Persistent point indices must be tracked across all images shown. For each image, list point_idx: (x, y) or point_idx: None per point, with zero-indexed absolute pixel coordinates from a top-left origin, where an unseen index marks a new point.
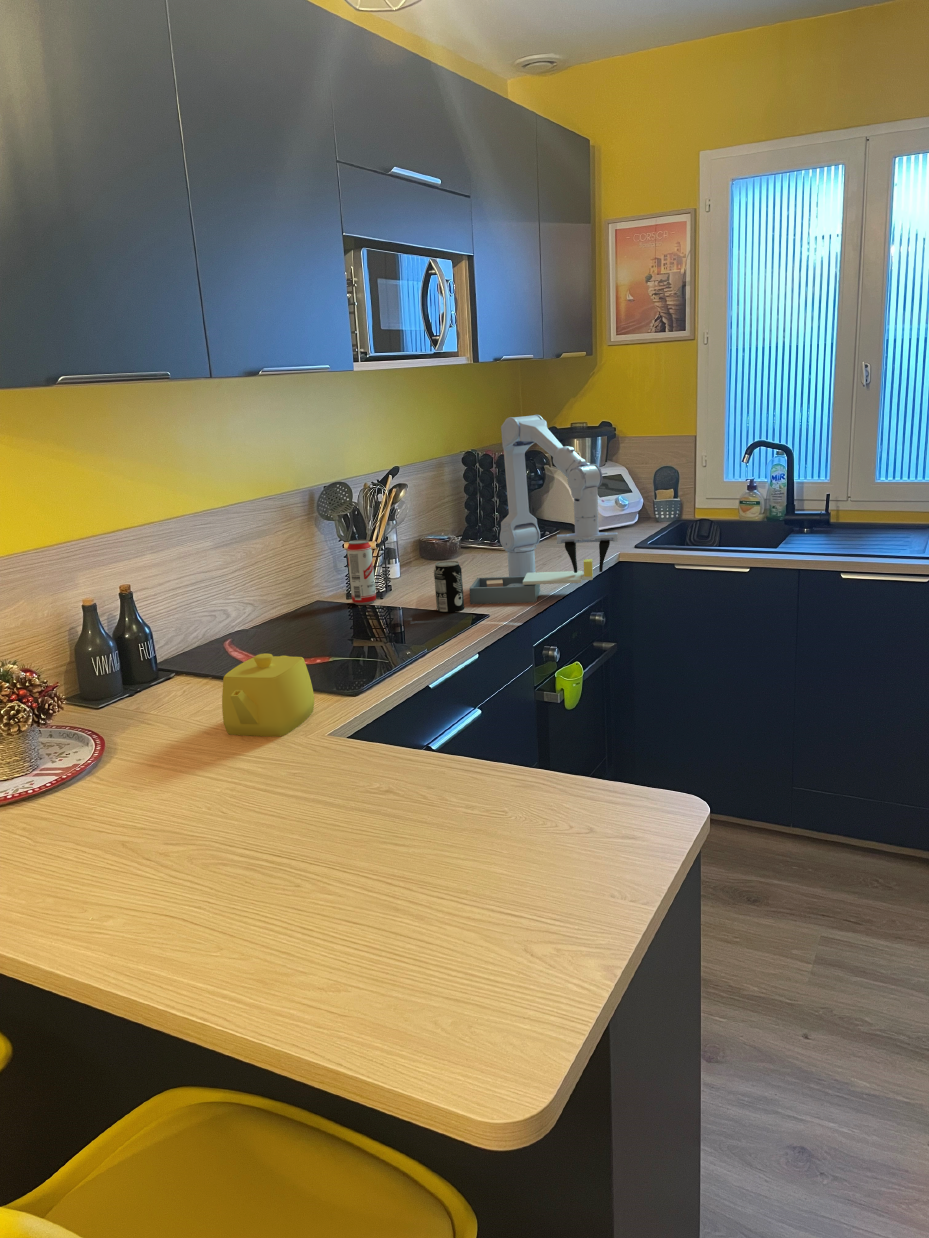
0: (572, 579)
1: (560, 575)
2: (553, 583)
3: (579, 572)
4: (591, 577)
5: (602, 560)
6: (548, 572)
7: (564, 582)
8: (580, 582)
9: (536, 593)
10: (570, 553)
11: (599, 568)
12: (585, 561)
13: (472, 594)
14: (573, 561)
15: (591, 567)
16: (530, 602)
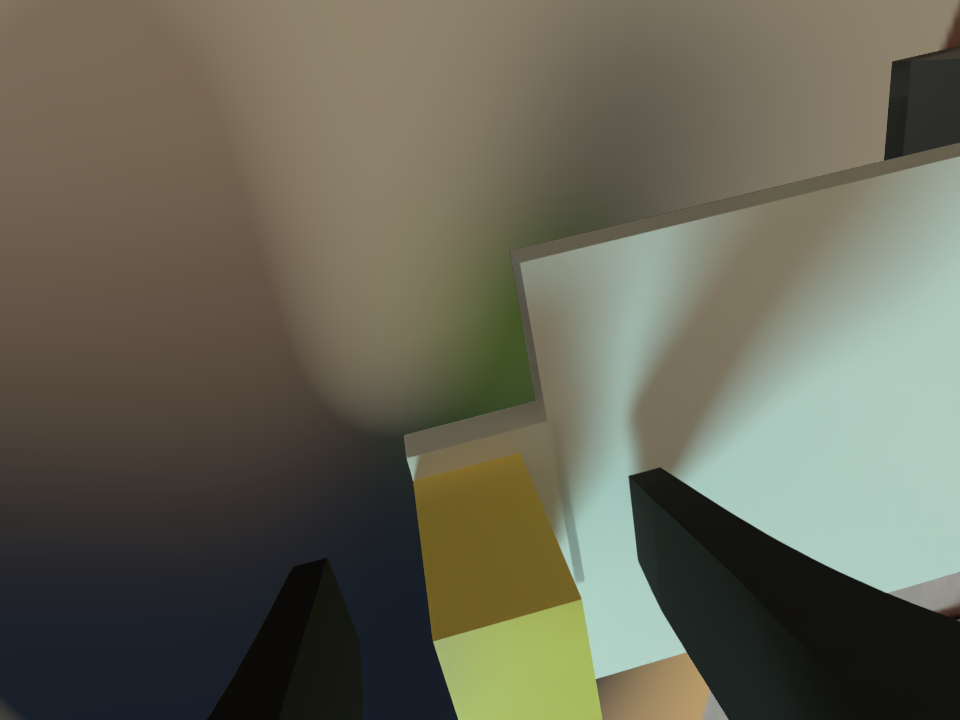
0: (642, 259)
1: (813, 455)
2: (867, 165)
3: (616, 613)
4: (418, 449)
5: (233, 707)
6: (938, 559)
7: (732, 201)
8: (517, 249)
9: None
10: (943, 647)
11: (315, 587)
12: (553, 627)
13: None
14: (762, 557)
15: (434, 561)
16: (957, 50)
